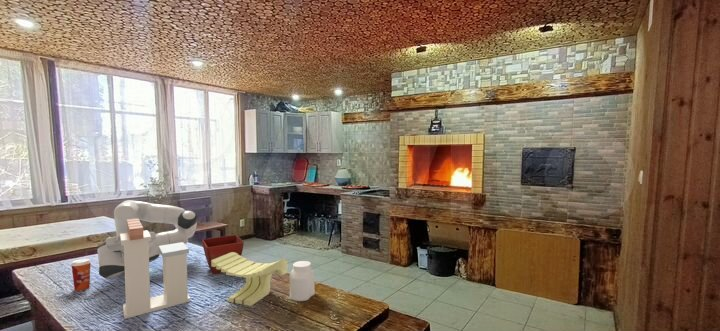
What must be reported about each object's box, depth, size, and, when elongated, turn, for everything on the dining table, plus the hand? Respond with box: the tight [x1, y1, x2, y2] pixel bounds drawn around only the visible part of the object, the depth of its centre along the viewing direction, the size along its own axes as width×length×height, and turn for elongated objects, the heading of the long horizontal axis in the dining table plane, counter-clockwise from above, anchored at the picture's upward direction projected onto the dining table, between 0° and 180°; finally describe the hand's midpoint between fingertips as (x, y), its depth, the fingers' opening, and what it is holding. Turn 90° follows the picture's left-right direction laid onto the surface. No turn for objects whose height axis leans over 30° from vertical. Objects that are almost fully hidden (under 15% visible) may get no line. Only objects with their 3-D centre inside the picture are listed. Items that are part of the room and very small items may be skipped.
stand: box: [120, 229, 191, 320], centre depth 140 cm, size 14×24×32 cm, turn 129°
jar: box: [288, 260, 316, 302], centre depth 148 cm, size 12×10×15 cm
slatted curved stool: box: [211, 252, 288, 307], centre depth 147 cm, size 30×16×18 cm, turn 70°
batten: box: [127, 219, 144, 240], centre depth 137 cm, size 24×4×4 cm, turn 39°
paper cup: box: [70, 258, 92, 292], centre depth 157 cm, size 8×8×14 cm
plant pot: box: [201, 234, 245, 276], centre depth 182 cm, size 19×19×17 cm
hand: (132, 234), depth 154 cm, fingers open, 8 cm apart
